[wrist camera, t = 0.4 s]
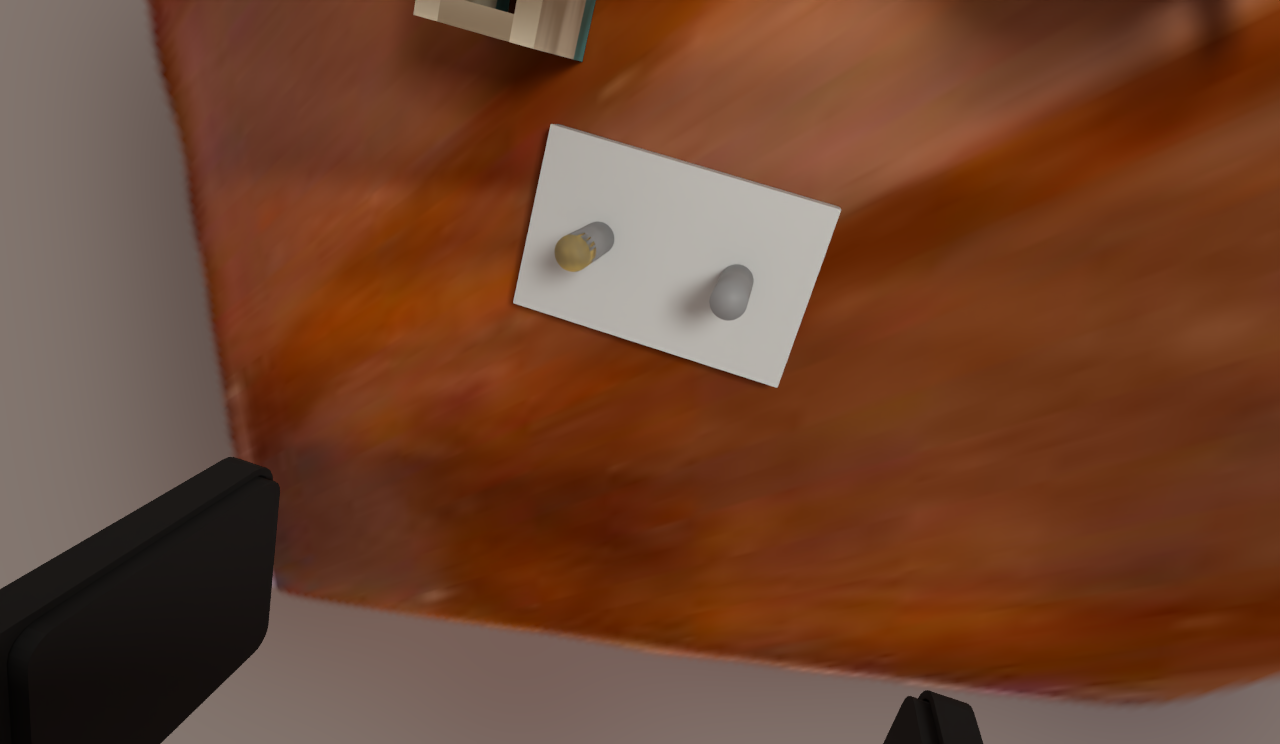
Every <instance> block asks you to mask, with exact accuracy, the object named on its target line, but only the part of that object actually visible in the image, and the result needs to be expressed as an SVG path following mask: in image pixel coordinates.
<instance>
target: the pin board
mask: <svg viewBox="0 0 1280 744" xmlns="http://www.w3.org/2000/svg"><path fill="white" fill-rule="evenodd" d="M840 212H841V208H840V207H838V206H835V205H832V204H828V203H825V202H822V201H818V200H815V199H811V198H808V197H805V196H801V195H798V194H794V193H791V192H788V191H784V190H781V189H777V188H774V187H771V186H767V185H764V184H760V183H757V182H754V181H750V180H747V179H743V178H740V177H737V176H733V175H730V174H727V173H723V172H720V171H716V170H713V169H710V168H706V167H703V166H699V165H696V164H693V163H689V162H686V161H682V160H679V159H676V158H672V157H669V156H665V155H662V154H659V153H655V152H652V151H648V150H645V149H642V148H638V147H635V146H632V145H628V144H625V143H621V142H618V141H615V140H611V139H608V138H604V137H601V136H598V135H594V134H591V133H587V132H584V131H581V130H577V129H574V128H570V127H567V126H564V125H560V124H551V125H550V130H549V134H548V139H547V144H546V149H545V153H544V158H543V163H542V168H541V172H540V177H539V182H538V186H537V191H536V196H535V201H534V205H533V210H532V215H531V220H530V224H529V229H528V234H527V239H526V243H525V248H524V253H523V258H522V262H521V267H520V272H519V277H518V281H517V286H516V291H515V295H514V300H513V303H514V304H517V305H521V306H524V307H527V308H530V309H533V310H536V311H539V312H542V313H545V314H549V315H552V316H555V317H558V318H561V319H564V320H567V321H570V322H573V323H577V324H580V325H583V326H586V327H589V328H592V329H595V330H598V331H601V332H605V333H608V334H611V335H614V336H617V337H620V338H623V339H626V340H630V341H633V342H636V343H639V344H642V345H645V346H648V347H651V348H654V349H658V350H661V351H664V352H667V353H670V354H673V355H676V356H679V357H682V358H686V359H689V360H692V361H695V362H698V363H701V364H704V365H707V366H710V367H714V368H717V369H720V370H723V371H726V372H729V373H732V374H735V375H738V376H742V377H745V378H748V379H751V380H754V381H757V382H760V383H763V384H766V385H770V386H773V387H776V388H777V387H778V385H779V382H780V379H781V376H782V373H783V371H784V368H785V365H786V362H787V359H788V357H789V354H790V351H791V348H792V346H793V343H794V340H795V337H796V334H797V332H798V329H799V326H800V323H801V320H802V318H803V315H804V312H805V309H806V307H807V304H808V301H809V298H810V295H811V293H812V290H813V287H814V284H815V281H816V279H817V276H818V273H819V270H820V268H821V265H822V262H823V259H824V256H825V254H826V251H827V248H828V245H829V242H830V240H831V237H832V234H833V231H834V229H835V226H836V223H837V220H838V217H839V215H840Z"/></svg>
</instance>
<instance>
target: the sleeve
mask: <svg viewBox="0 0 1280 744" xmlns="http://www.w3.org/2000/svg"><path fill="white" fill-rule="evenodd" d="M595 1H596V0H517V2H516V7H515V13H514V14H512V13H508V9H509V3H510V0H415V7H414V14H413V15H416V16H420V17H423V18H427V19H430V20H434V21H437V22H441V23H444V24H448V25H451V26H455V27H458V28H462V29H465V30H469V31H472V32H476V33H479V34H483V35H486V36H490V37H493V38H497V39H500V40H504V41H507V42H511V43H514V44H518V45H521V46H525V47H528V48H532V49H536V50H539V51H543V52H547V53H551V54H554V55H558V56H562V57H566V58H570V59H573V60H577V61H581V62H582V61H583V56H584V52H585V47H586V42H587V38H588V33H589V29H590V24H591V20H592V15H593V10H594V6H595Z"/></svg>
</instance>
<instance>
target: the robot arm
mask: <svg viewBox="0 0 1280 744" xmlns="http://www.w3.org/2000/svg"><path fill="white" fill-rule="evenodd" d="M279 496H280V487H279V485H278V483H276V482H275V481H273V476H272V473H271V471H270V470H269V469H267V468H265V467H262V466H259V465H256V464H253V463H250V462H247V461H244V460H241V459H238V458H235V457H228V458H226V459H224V460H221V461H220V462H218V463H216V464H215V465H213V466H211V467H209V468H208V469H206V470H204V471H203V472H201V473H199V474H197V475H196V476H194V477H192V478H190V479H189V480H187V481H185V482H184V483H182V484H180V485H178V486H177V487H175V488H173V489H172V490H170V491H168V492H166V493H165V494H163V495H161V496H160V497H158V498H156V499H155V500H153V501H151V502H149V503H148V504H146V505H144V506H143V507H141V508H139V509H137V510H136V511H134V512H132V513H130V514H129V515H127V516H125V517H124V518H122V519H120V520H118V521H117V522H115V523H113V524H112V525H110V526H108V527H106V528H105V529H103V530H101V531H99V532H98V533H96V534H94V535H93V536H91V537H90V538H87V539H86V540H84V541H82V542H81V543H79V544H77V545H75V546H74V547H72V548H70V549H69V550H67V551H65V552H63V553H62V554H60V555H58V556H57V557H55V558H53V559H51V560H50V561H48V562H46V563H44V564H43V565H41V566H39V567H38V568H36V569H34V570H33V571H31V572H29V573H27V574H26V575H24V576H22V577H21V578H19V579H17V580H15V581H14V582H12V583H10V584H8V585H7V586H5V587H3V588H2V589H0V744H160V743H162V742H163V741H164V740H165V739H166V738H167V736H169V735H170V734H171V733H172V732H173V731H174V730H175V729H176V728H177V727H178V726H179V725H180V724H181V723H182V722H183V721H184V720H185V719H186V718H187V717H188V716H189V715H190V714H191V713H192V712H193V711H194V710H195V709H196V708H197V707H199V706H200V705H201V704H202V703H203V702H204V701H205V700H206V699H207V698H208V697H209V696H210V695H211V694H212V693H213V692H214V691H215V690H216V689H217V688H218V687H219V686H220V685H221V684H222V683H223V682H224V681H225V680H226V679H227V678H228V677H229V676H230V675H232V674H233V673H234V672H235V671H236V670H237V669H238V668H239V667H240V666H241V665H242V664H243V663H244V662H245V661H246V660H247V659H248V658H249V657H250V656H251V655H252V654H253V653H254V652H255V651H256V650H257V649H258V647H259V646H260V644H261V643H262V641H263V639H264V637H265V635H266V632H267V628H268V621H269V611H270V599H271V588H272V576H273V565H274V553H275V542H276V530H277V519H278V507H279ZM883 744H983V741H982V738H981V735H980V731H979V728H978V725H977V721H976V718H975V715H974V712H973V710H972V708H971V706H970V705H969V704H967V703H964V702H961V701H958V700H955V699H952V698H949V697H946V696H943V695H940V694H937V693H934V692H931V691H928V690H927V691H924V692H923V693H921V694H920V696H919V698H918V699H917V698H914V697H912V696H908V697H907V698H906V699H905V700H904V702H903V703H902V705H901V708H900V709H899V712H898V714H897V716H896V718H895V720H894V722H893V724H892V726H891V728H890V731H889V733H888V735H887V737H886V739H885V741H884V743H883Z"/></svg>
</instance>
